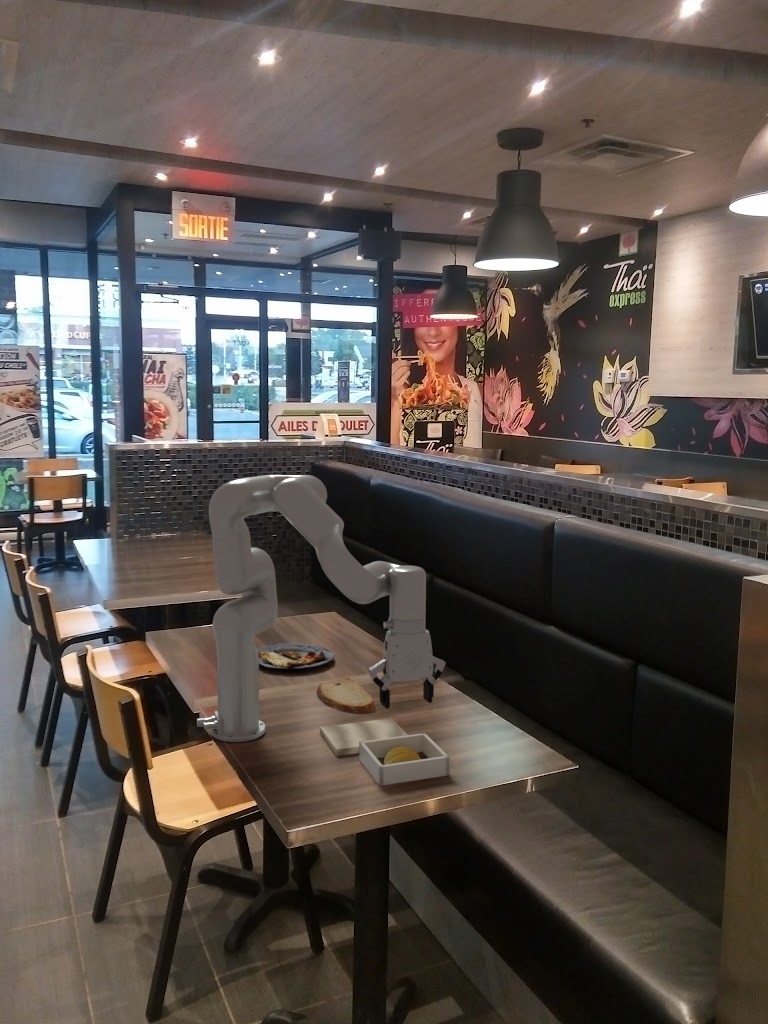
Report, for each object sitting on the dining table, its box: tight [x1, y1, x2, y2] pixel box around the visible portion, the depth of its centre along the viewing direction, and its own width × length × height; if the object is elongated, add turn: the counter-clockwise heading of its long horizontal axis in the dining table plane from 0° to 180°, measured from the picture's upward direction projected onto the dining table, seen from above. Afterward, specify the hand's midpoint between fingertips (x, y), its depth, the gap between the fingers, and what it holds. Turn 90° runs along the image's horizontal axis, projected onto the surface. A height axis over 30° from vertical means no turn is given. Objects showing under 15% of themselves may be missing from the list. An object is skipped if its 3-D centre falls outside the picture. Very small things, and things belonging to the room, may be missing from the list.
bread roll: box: [383, 747, 422, 765], centre depth 178 cm, size 8×9×4 cm
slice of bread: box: [316, 677, 377, 714], centre depth 217 cm, size 18×18×4 cm
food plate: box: [257, 642, 335, 670], centre depth 246 cm, size 25×23×4 cm
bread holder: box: [358, 732, 451, 787], centre depth 178 cm, size 16×13×4 cm
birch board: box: [319, 718, 408, 757], centre depth 191 cm, size 18×13×2 cm
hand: (406, 703), depth 176 cm, fingers open, 9 cm apart
